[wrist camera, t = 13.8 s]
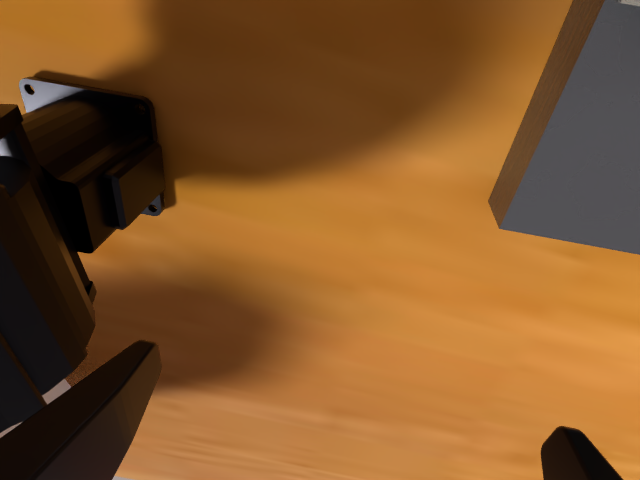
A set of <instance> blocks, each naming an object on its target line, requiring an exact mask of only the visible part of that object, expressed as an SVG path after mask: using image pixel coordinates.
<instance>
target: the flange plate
mask: <svg viewBox="0 0 640 480" xmlns="http://www.w3.org/2000/svg"><path fill="white" fill-rule="evenodd" d="M488 202H489V205H490V207H491V210H492V212H493V215H494V217H495V220H496V222H497V224H498V227H499V229H504V230H509V231H515V232H520V233H525V234H531V235H536V236H542V237H547V238H552V239H558V240H563V241H569V242H574V243H580V244H585V245H590V246H596V247H601V248H607V249H612V250H617V251H623V252H628V253H634V254H639V255H640V0H573V2H572V5H571V7H570V9H569V12H568V14H567V17H566V19H565V21H564V24H563V26H562V28H561V31H560V33H559V35H558V38H557V40H556V42H555V45H554V47H553V50H552V52H551V54H550V57H549V59H548V61H547V64H546V66H545V68H544V71H543V73H542V76H541V78H540V80H539V83H538V85H537V87H536V90H535V92H534V94H533V97H532V99H531V101H530V104H529V106H528V109H527V111H526V113H525V116H524V118H523V120H522V123H521V125H520V127H519V130H518V132H517V134H516V137H515V139H514V142H513V144H512V146H511V149H510V151H509V153H508V156H507V158H506V160H505V163H504V165H503V168H502V170H501V172H500V175H499V177H498V179H497V182H496V184H495V186H494V189H493V191H492V193H491V196H490V198H489V201H488Z"/></svg>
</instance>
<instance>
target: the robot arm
mask: <svg viewBox="0 0 640 480" xmlns="http://www.w3.org/2000/svg"><path fill="white" fill-rule="evenodd" d="M30 85H31V86H32V87H33V88H34V90H35V92H34V91H33V90H32V89H31V87H30ZM19 88H20V91H21V95H22V98H23V102H24V105H25V109H26V112H27V113H26V114H23V115H21V112H20V110H19V108H18V105H15V104H0V433H1V432H3V431H5V430H6V429H8V428H10V427H11V426H14V425H16V424H19V423H21V422H22V423H21V424H19V425H18V426H16V427H15V428H14V429H12V430H11V431H9V432H8V433H7V434H5V435H4V436H2V437H1V438H0V480H112V479H113V477H114V475H115V473H116V471H117V469H118V468H119V466H120V464H121V462H122V460H123V458H124V456H125V454H126V453H127V451H128V449H129V447H130V445H131V443H132V441H133V439H134V436H135V434H136V432H137V429H138V427H139V424H140V422H141V419H142V417H143V415H144V412H145V410H146V407H147V405H148V402H149V400H150V397H151V395H152V392H153V390H154V387H155V385H156V383H157V380H158V378H159V375H160V372H161V360H160V353H159V347H158V345H157V343H155V342H151V341H146V340H139V341H136V342H135V343H133V344H132V345H130V346H129V347H128V348H126V349H125V350H123V351H122V352H121V353H119V354H118V355H116V356H115V357H114V358H112V359H111V360H109V361H108V362H107V363H105V364H104V365H102V366H101V367H99V368H98V369H97V370H95V371H94V372H92V373H91V374H90V375H88V376H87V377H85V378H84V379H83V380H81V381H80V382H78V383H77V384H76V385H74V386H73V387H71V388H70V389H69V390H67V391H66V392H64V393H63V394H61V395H60V396H59V397H57V398H56V399H54V400H53V401H52V402H50V403H49V404H47V403H46V402H45V400H44V398H43V397H42V395H44V394H46V393H47V392H49V391H50V390H51V389H52V388H54V387H55V386H56V385H57V384H59V383H60V382H61V381H62V380H63V379H65V378H66V377H67V376H68V375H70V374H71V373H72V372H73V371H74V370H75V369H76V368H77V367H78V365H79V364H80V363H81V362H82V361H83V360H84V359H85V357H86V356H87V350H86V348H85V347H86V346H87V344H88V342H89V340H90V337H91V335H92V333H93V330H94V328H95V310H94V308H93V306H92V303H93V301H94V298H95V295H96V288H95V286H94V284H93V282H92V281H89V279H88V276H87V274H86V272H85V269H84V267H83V265H82V262H81V260H80V258H79V255H78V253H77V252H83V253H93V252H94V251H95V250H96V249H97V248H98V247H99V246H100V245H101V244H102V243H103V242H104V241H105V240H106V239H107V238H108V237H109V236H110V235H111V234H112V233H113V232H114V231H115V230H116V229H120V230H124V229H125V228H126V227H128V226H129V225H130V224H131V223H132V222H133V221H134V220H135V219H136V218H137V217H138V216H139V215H140V214H146V215H151V216H158V215H160V214H161V213H162V212H163V210H164V207H165V206H164V196H163V190H164V189H165V180H164V170H163V160H162V150H161V146H160V144H159V143H158V140H157V131H156V121H155V112H154V106H153V104H152V102H151V101H150V100H149V99H148V98H146V97H143V96H138V95H132V94H127V93H121V92H116V91H110V90H104V89H99V88H93V87H87V86H82V85H76V84H70V83H65V82H59V81H54V80H48V79H42V78H37V77H27V78H24V79H22V80H20V83H19ZM139 104H141V105H142V106H143V107H144V108H145V112H143V111H142V110H141V109H140V108H139ZM152 205H155V206H156V208H157V209H156V208H154V207H153V206H152ZM541 461H542V469H543V478H544V480H623V479H622V478H621V476H620V475H619V474H618V473H617V472H616V471H615V469H614V468H613V467H612V466H611V465H610V464H609V462H608V461H607V460H606V459H605V458H604V457H603V455H602V454H601V453H600V452H599V451H598V449H597V448H596V447H595V446H594V445H593V444H592V442H591V441H590V440H589V439H588V438H587V437H586V435H585V434H584V433H583V432H581V431H580V430H578V429H575V428H570V427H565V426H559V427H557V428H556V429H555V430H554V432H553V433H552V434H551V435H550V436H549V437H548V439H547V440H546V441H545V442H544V443H543V445H542V448H541Z"/></svg>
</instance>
